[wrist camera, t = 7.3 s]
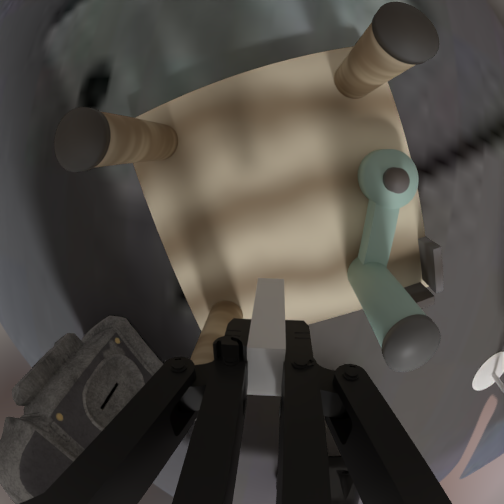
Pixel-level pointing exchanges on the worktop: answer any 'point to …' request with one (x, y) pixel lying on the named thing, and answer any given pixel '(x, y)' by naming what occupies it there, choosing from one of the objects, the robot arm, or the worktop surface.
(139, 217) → the worktop surface
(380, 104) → the stool
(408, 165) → the folding leg
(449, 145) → the worktop surface
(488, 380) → the wineglass
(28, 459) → the figurine
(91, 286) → the worktop surface
